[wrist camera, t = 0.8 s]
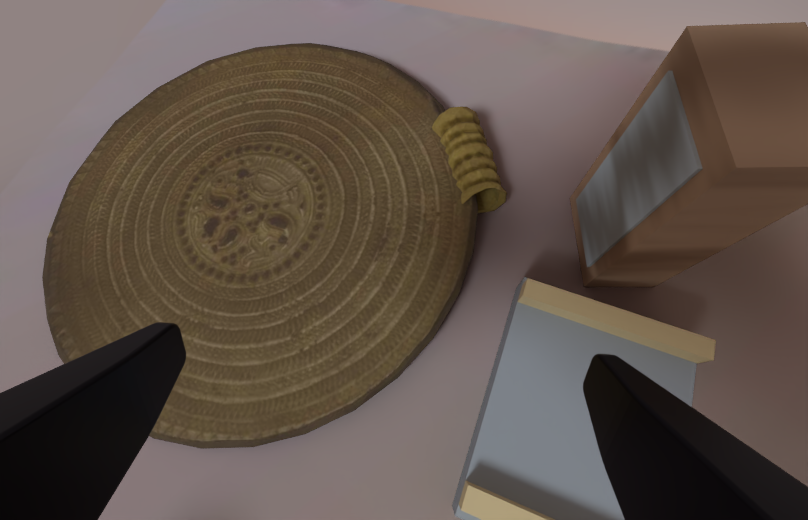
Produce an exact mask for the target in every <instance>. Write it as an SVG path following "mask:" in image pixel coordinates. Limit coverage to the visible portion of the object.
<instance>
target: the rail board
mask: <svg viewBox="0 0 808 520" xmlns="http://www.w3.org/2000/svg"><path fill="white" fill-rule="evenodd" d="M715 343H716V340H714V339H711V338H708V337H705V336H702V335H699V334H696V333H693V332H690V331H687V330H684V329H681V328H678V327H675V326H672V325H669V324H666V323H663V322H660V321H657V320H654V319H651V318H648V317H645V316H641V315H638V314H635V313H632V312H629V311H626V310H623V309H620V308H617V307H614V306H611V305H608V304H605V303H602V302H599V301H596V300H593V299H590V298H587V297H584V296H581V295H578V294H575V293H572V292H569V291H566V290H563V289H560V288H557V287H554V286H551V285H548V284H545V283H542V282H538V281H535V280H532V279H529V278H526V277H524V278H523V280H522V281H521V282H520V284H519V285H518V286H517V288H516V291H515V295H514V298H513V301H512V305H511V308H510V312H509V315H508V318H507V322H506V325H505V329H504V332H503V335H502V339H501V342H500V345H499V349H498V352H497V356H496V359H495V362H494V366H493V369H492V373H491V376H490V379H489V383H488V386H487V390H486V393H485V396H484V400H483V403H482V406H481V410H480V413H479V417H478V420H477V423H476V427H475V430H474V434H473V437H472V440H471V444H470V447H469V450H468V454H467V457H466V461H465V464H464V467H463V471H462V474H461V478H460V481H459V484H458V488H457V491H456V495H455V498H454V501H453V505H452V507H453V510H454V514H455V516H456V517H459V518H461V519H463V520H625V519H624V516H623V514H622V511H621V509H620V506H619V504H618V501H617V498H616V496H615V493H614V491H613V488H612V485H611V483H610V480H609V478H608V475H607V472H606V470H605V467H604V464H603V461H602V458H601V455H600V451H599V448H598V444H597V441H596V437H595V433H594V430H593V426H592V422H591V418H590V415H589V411H588V407H587V404H586V400H585V396H584V392H583V382H584V379H585V376H586V373H587V371H588V368H589V365H590V363H591V360H592V358H593V356H594V355H596V354H612V355H616V356H618V357H619V358H621V359H622V360H624V361H625V362H627V363H628V364H630V365H631V366H633V367H634V368H635V369H637V370H638V371H640V372H641V373H643V374H644V375H646V376H647V377H649V378H650V379H651V380H653V381H654V382H656V383H657V384H659V385H660V386H662V387H663V388H665V389H666V390H667V391H669V392H670V393H672V394H673V395H675V396H676V397H678V398H679V399H681V400H682V401H683V402H685V403H686V404H688V405H689V406H691V407H692V399H693V391H694V382H695V374H696V365H697V363H702V362H708V361H713V360H714V353H715Z"/></svg>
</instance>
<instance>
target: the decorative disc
mask: <svg viewBox="0 0 808 520" xmlns="http://www.w3.org/2000/svg"><path fill="white" fill-rule="evenodd" d="M506 195H507V192H506V191H505V190H504V189H503V188H502V186H501V182H500V177H499V175H498V174H497V167H496V164H495V163H494V161H493V152H492V151H491V150H490V148H489V147H488V146H487V140H486V139H485V136H484V133H483V130H482V128H481V126H480V121H479V118H478V116H477V113H476V112H475V111H473V110H471V109H470V108H468V107H453V108H449V109H448V110H446V111H445V109H444V108H443V106H442V105H441V104H440V103H439V102H438V101H437V100H436V99H435V98H434V97H433V96H432V95H431V94H430V93H429V92H428V91H427V90H426V89H425V88H424V87H423V86H422V85H421V84H420V83H419V82H417V81H416V80H414V79H412V78H411V77H409V76H408V75H406V74H405V73H403V72H402V71H400V70H398V69H397V68H395V67H394V66H392V65H391V64H389V63H386V62H384V61H382V60H379V59H377V58H375V57H372V56H369V55H366V54H364V53H361V52H357V51H352V50H347V49H342V48H337V47H332V46H327V45H320V44H312V43H303V44H287V45H277V46H267V47H257V48H252V49H249V50H245V51H242V52H238V53H234V54H231V55H227V56H224V57H220V58H217V59H213V60H209V61H207V62H205V63H203V64H201V65H199V66H197V67H195V68H193V69H192V70H190V71H188V72H186V73H184V74H182V75H180V76H179V77H177V78H175V79H173V80H171V81H169V82H167V83H166V84H164V85H162V86H160V87H158V88H156V89H155V90H154V91H153V92H151V93H150V94H149V95H148V96H146V97H145V98H144V99H143V100H141V101H140V102H139V103H138V104H136V105H135V106H134V107H133V108H131V109H130V110H129V111H128V112H126V113H125V114H124V115H123V116H121V117H120V118H119V119H118V120H116V121H115V122H114V124H113V125H112V126H111V127H110V129H109V130H108V131H107V132H106V134H105V135H104V136H103V137H102V138H101V140H100V141H99V143H98V144H97V145H96V147H95V148H94V149H93V151H92V152H91V153H90V155H89V156H88V157H87V159H86V160H85V161H84V163H83V164H82V166H81V167H80V168H79V170H78V171H77V172H76V174H75V175H74V177H73V178H72V179H71V181H70V182H69V185H68V187H67V189H66V192H65V194H64V197H63V199H62V202H61V204H60V207H59V209H58V212H57V215H56V217H55V220H54V222H53V225H52V228H51V230H50V233H49V236H48V238H47V246H46V254H45V262H44V270H43V287H44V296H45V304H46V313H47V320H48V324H49V327H50V331H51V334H52V337H53V340H54V343H55V346H56V349H57V352H58V355H59V357H60V358H61V360H62V361H63V363H64V364H66V363H68V362H70V361H72V360H74V359H77V358H79V357H81V356H83V355H85V354H88V353H90V352H92V351H94V350H96V349H98V348H101V347H103V346H105V345H107V344H109V343H112V342H114V341H116V340H118V339H120V338H123V337H125V336H127V335H129V334H131V333H134V332H136V331H138V330H140V329H142V328H145V327H147V326H149V325H151V324H153V323H157V322H164V323H175V324H177V325H178V326H179V328H180V331H181V334H182V338H183V342H184V346H185V350H186V361H185V364H184V366H183V368H182V370H181V372H180V374H179V377H178V379H177V381H176V383H175V385H174V387H173V389H172V391H171V393H170V395H169V397H168V399H167V401H166V404H165V406H164V408H163V410H162V412H161V414H160V416H159V418H158V420H157V422H156V424H155V426H154V428H153V429H152V431H151V433H150V435H149V436H150V437H152V438H155V439H159V440H164V441H169V442H174V443H178V444H183V445H188V446H193V447H197V448H235V447H255V446H259V445H263V444H267V443H271V442H275V441H279V440H283V439H287V438H291V437H295V436H299V435H303V434H306V433H308V432H310V431H312V430H315V429H317V428H319V427H321V426H323V425H325V424H327V423H329V422H331V421H333V420H335V419H337V418H339V417H341V416H343V415H346V414H348V413H350V412H352V411H354V410H356V409H357V408H358V407H360V406H361V405H362V404H363V403H365V402H366V401H367V400H369V399H370V398H371V397H373V396H374V395H375V394H377V393H378V392H379V391H381V390H382V389H383V388H385V387H386V386H387V385H389V384H390V383H391V382H393V381H394V380H395V379H397V378H398V377H399V376H400V375H401V374H402V373H403V371H404V370H405V369H406V368H407V367H408V366H409V365H410V364H411V362H412V361H413V360H414V359H415V358H416V357H417V356H418V355H419V353H420V352H421V351H422V350H423V349H424V348H425V347H426V346H427V344H428V343H429V342H430V341H431V340H432V339H433V338H434V336H435V334H436V333H437V331H438V329H439V328H440V326H441V324H442V322H443V321H444V319H445V317H446V316H447V314H448V312H449V310H450V309H451V307H452V305H453V304H454V302H455V300H456V299H457V297H458V295H459V292H460V289H461V286H462V283H463V280H464V277H465V274H466V272H467V269H468V266H469V263H470V260H471V257H472V254H473V250H474V241H475V232H476V223H477V214H478V213H483V212H489V211H494V210H496V209H497V208H498V207H500V206H501V205H502V204H503V203H505V201H506Z"/></svg>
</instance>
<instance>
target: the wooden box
mask: <svg viewBox="0 0 808 520" xmlns="http://www.w3.org/2000/svg"><path fill="white" fill-rule="evenodd" d="M570 203H571V209H572V215H573V222H574V228H575V234H576V241H577V247H578V253H579V260H580V266H581V273H582V279H583V285H584V287H655V286H656V285H658V284H660V283H662V282H664V281H666V280H668V279H669V278H671V277H673V276H675V275H677V274H679V273H681V272H682V271H684V270H686V269H688V268H690V267H692V266H694V265H695V264H697V263H699V262H701V261H703V260H705V259H706V258H708V257H710V256H712V255H714V254H716V253H718V252H719V251H721V250H723V249H725V248H727V247H729V246H731V245H732V244H734V243H736V242H738V241H740V240H742V239H744V238H745V237H747V236H749V235H751V234H753V233H755V232H757V231H758V230H760V229H762V228H764V227H766V226H768V225H769V224H771V223H773V222H775V221H777V220H779V219H781V218H782V217H784V216H786V215H788V214H790V213H792V212H794V211H795V210H797V209H799V208H801V207H803V206H805V205H807V204H808V27H807V25H806V23H805V22H801V23H771V24H740V25H712V26H687V27H686V29H685V30H684V31H683V33H682V35H681V36H680V38H679V39H678V40H677V42H676V43H675V45H674V46H673V48H672V49H671V51H670V52H669V53H668V55H667V56H666V58H665V59H664V61H663V62H662V64H661V65H660V67H659V68H658V70H657V71H656V73H655V74H654V76H653V77H652V78H651V80H650V81H649V83H648V84H647V86H646V87H645V89H644V90H643V92H642V93H641V95H640V96H639V98H638V99H637V100H636V102H635V103H634V105H633V106H632V108H631V109H630V111H629V112H628V114H627V115H626V117H625V118H624V120H623V121H622V122H621V124H620V125H619V127H618V128H617V130H616V131H615V133H614V134H613V136H612V137H611V139H610V140H609V142H608V143H607V144H606V146H605V147H604V149H603V150H602V152H601V153H600V155H599V156H598V158H597V159H596V161H595V162H594V164H593V165H592V166H591V168H590V169H589V171H588V172H587V174H586V175H585V177H584V178H583V180H582V181H581V183H580V184H579V186H578V187H577V188H576V190H575V191H574V193H573V194H572V196H571V197H570Z"/></svg>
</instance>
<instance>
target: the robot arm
mask: <svg viewBox="0 0 808 520" xmlns="http://www.w3.org/2000/svg"><path fill="white" fill-rule="evenodd" d="M185 361H186V350H185V346H184V342H183V338H182V334H181V331H180V328H179V326H178V325H177V324H175V323H164V322H157V323H153V324H151V325H149V326H147V327H145V328H142V329H140V330H138V331H136V332H134V333H131V334H129V335H127V336H125V337H123V338H120V339H118V340H116V341H114V342H112V343H109V344H107V345H105V346H103V347H101V348H98V349H96V350H94V351H92V352H90V353H88V354H85V355H83V356H81V357H79V358H77V359H74V360H72V361H70V362H68V363H66V364H63V365H61V366H59V367H57V368H55V369H52V370H50V371H48V372H46V373H44V374H41V375H39V376H37V377H35V378H33V379H30V380H28V381H26V382H24V383H22V384H19V385H17V386H15V387H13V388H11V389H8V390H6V391H4V392H2V393H0V520H98V518H99V517H100V515H101V513H102V512H103V510H104V509H105V507H106V505H107V504H108V502H109V500H110V499H111V497H112V495H113V494H114V492H115V491H116V489H117V487H118V486H119V484H120V482H121V481H122V479H123V477H124V476H125V474H126V473H127V471H128V469H129V468H130V466H131V464H132V463H133V461H134V459H135V458H136V456H137V455H138V453H139V451H140V450H141V448H142V446H143V445H144V443H145V441H146V440H147V438H148V436H149V435H150V433H151V431H152V429H153V428H154V426H155V424H156V422H157V420H158V418H159V416H160V414H161V412H162V410H163V408H164V406H165V404H166V401H167V399H168V397H169V395H170V393H171V391H172V389H173V387H174V385H175V383H176V381H177V379H178V377H179V374H180V372H181V370H182V368H183V366H184V364H185ZM583 392H584V396H585V400H586V404H587V407H588V411H589V415H590V418H591V422H592V426H593V430H594V433H595V437H596V441H597V444H598V448H599V451H600V455H601V458H602V461H603V464H604V467H605V470H606V472H607V475H608V478H609V480H610V483H611V485H612V488H613V491H614V493H615V496H616V498H617V501H618V504H619V506H620V509H621V511H622V514H623V516H624V519H625V520H808V487H807V486H806V485H804V484H803V483H801V482H800V481H798V480H797V479H795V478H794V477H793V476H791V475H790V474H788V473H787V472H785V471H784V470H782V469H781V468H779V467H778V466H777V465H775V464H774V463H772V462H771V461H769V460H768V459H766V458H765V457H763V456H762V455H761V454H759V453H758V452H756V451H755V450H753V449H752V448H750V447H749V446H747V445H746V444H745V443H743V442H742V441H740V440H739V439H737V438H736V437H734V436H733V435H731V434H730V433H729V432H727V431H726V430H724V429H723V428H721V427H720V426H718V425H717V424H715V423H714V422H713V421H711V420H710V419H708V418H707V417H705V416H704V415H702V414H701V413H699V412H698V411H697V410H695V409H694V408H692V407H691V406H689V405H688V404H686V403H685V402H683V401H682V400H681V399H679V398H678V397H676V396H675V395H673V394H672V393H670V392H669V391H667V390H666V389H665V388H663V387H662V386H660V385H659V384H657V383H656V382H654V381H653V380H651V379H650V378H649V377H647V376H646V375H644V374H643V373H641V372H640V371H638V370H637V369H635V368H634V367H633V366H631V365H630V364H628V363H627V362H625V361H624V360H622V359H621V358H619V357H618V356H616V355H612V354H596V355H594V356H593V358H592V360H591V363H590V365H589V368H588V371H587V373H586V376H585V379H584V382H583Z"/></svg>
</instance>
